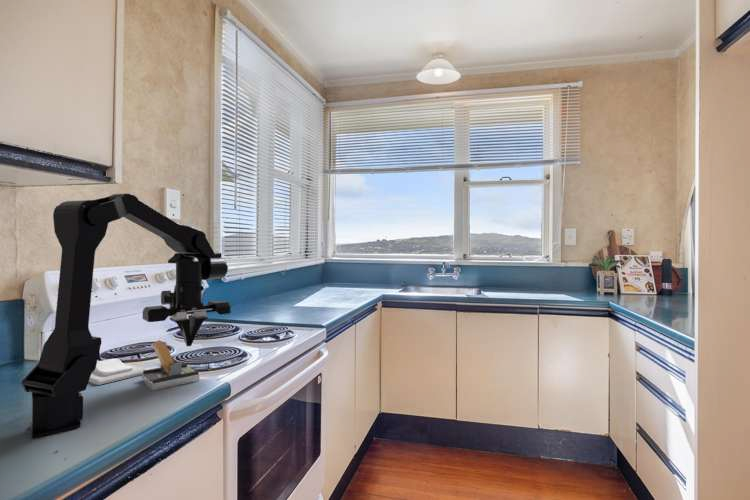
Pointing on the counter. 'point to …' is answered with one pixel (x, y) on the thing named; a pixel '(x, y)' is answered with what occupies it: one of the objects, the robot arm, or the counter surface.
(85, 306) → the robot arm
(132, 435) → the counter surface
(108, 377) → the light switch
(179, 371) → the toggle switch base
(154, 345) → the lever
